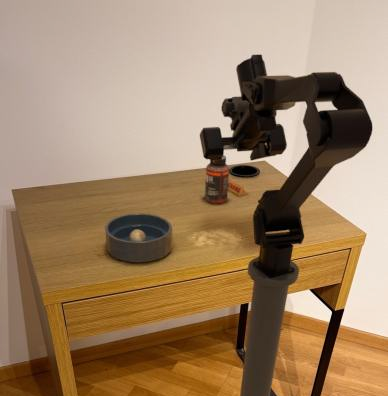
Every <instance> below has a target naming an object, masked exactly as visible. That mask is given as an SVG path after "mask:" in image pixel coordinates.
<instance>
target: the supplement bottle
mask: <svg viewBox="0 0 388 396" xmlns="http://www.w3.org/2000/svg"><path fill="white" fill-rule="evenodd" d="M229 176H230V167H229V165H228V164H227V156H226V155H225V154H223V156H222V159H221V160H220V161H218V162H216V163H213V160H209V163H208V164H207V165H206V167H205V184H204V186H205V187H204V188H205V189H204V199H205V201H206V202H208V203H210V204H223V203H225V202H227V200H228V194H229V190H228V179H230V178H229Z"/></svg>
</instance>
